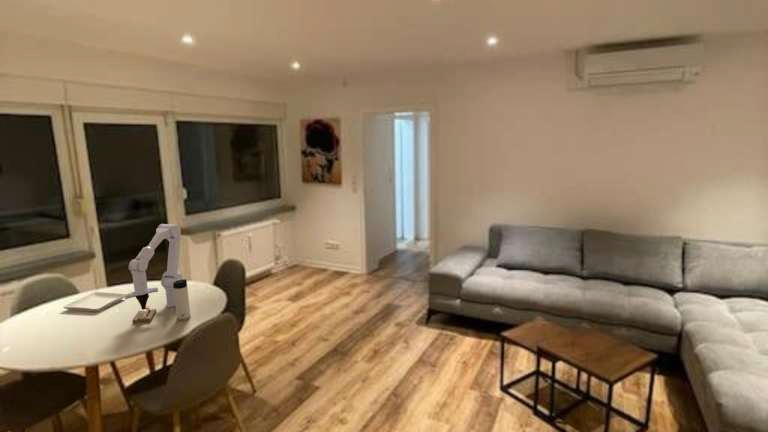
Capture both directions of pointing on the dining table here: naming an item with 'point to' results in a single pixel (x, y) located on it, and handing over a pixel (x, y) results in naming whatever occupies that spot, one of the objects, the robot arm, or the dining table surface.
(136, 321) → the panel
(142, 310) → the button mid
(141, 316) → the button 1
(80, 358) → the dining table surface
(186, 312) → the travel mug
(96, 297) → the salad plate
